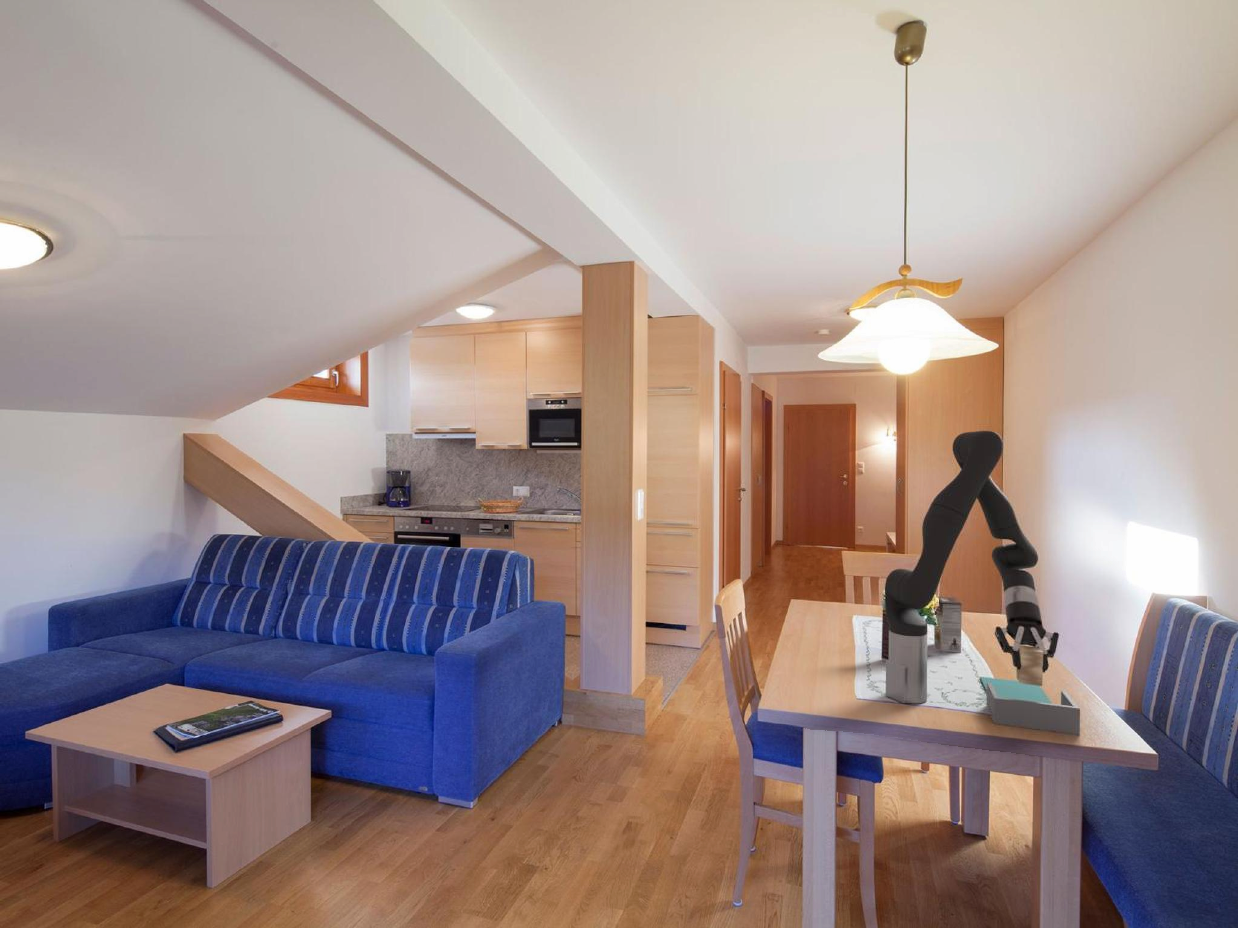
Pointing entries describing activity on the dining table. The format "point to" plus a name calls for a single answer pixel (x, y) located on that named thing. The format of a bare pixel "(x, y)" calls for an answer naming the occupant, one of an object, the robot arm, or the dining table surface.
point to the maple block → (1030, 665)
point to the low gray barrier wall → (1034, 713)
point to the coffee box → (948, 625)
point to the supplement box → (885, 637)
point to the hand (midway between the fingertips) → (1031, 669)
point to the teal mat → (1016, 690)
